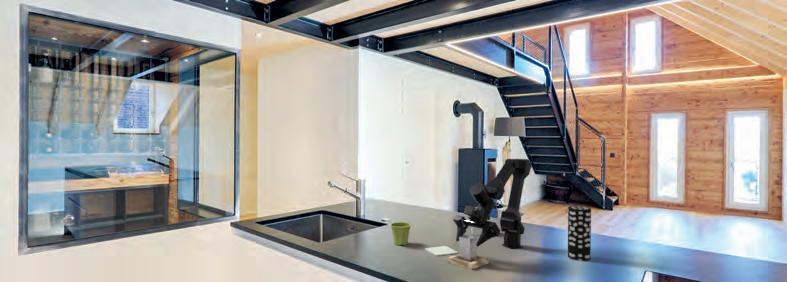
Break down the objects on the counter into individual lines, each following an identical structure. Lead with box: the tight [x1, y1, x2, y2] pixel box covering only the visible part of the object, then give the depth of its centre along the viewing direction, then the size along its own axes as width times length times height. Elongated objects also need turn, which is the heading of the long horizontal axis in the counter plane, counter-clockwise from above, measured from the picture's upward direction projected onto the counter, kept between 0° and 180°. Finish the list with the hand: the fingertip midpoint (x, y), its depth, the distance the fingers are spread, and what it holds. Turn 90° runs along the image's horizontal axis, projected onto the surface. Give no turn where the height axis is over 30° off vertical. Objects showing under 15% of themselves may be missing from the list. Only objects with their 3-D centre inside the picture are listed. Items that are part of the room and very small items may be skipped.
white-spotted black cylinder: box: [567, 205, 592, 262], centre depth 159 cm, size 8×8×20 cm
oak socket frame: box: [447, 253, 489, 271], centre depth 152 cm, size 11×11×2 cm
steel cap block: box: [458, 234, 478, 262], centre depth 152 cm, size 4×5×10 cm
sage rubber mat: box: [424, 245, 459, 257], centre depth 167 cm, size 10×10×1 cm
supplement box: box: [471, 206, 482, 236], centre depth 198 cm, size 7×7×13 cm
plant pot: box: [389, 221, 412, 246], centre depth 178 cm, size 9×9×9 cm
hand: (466, 243), depth 151 cm, fingers open, 9 cm apart
